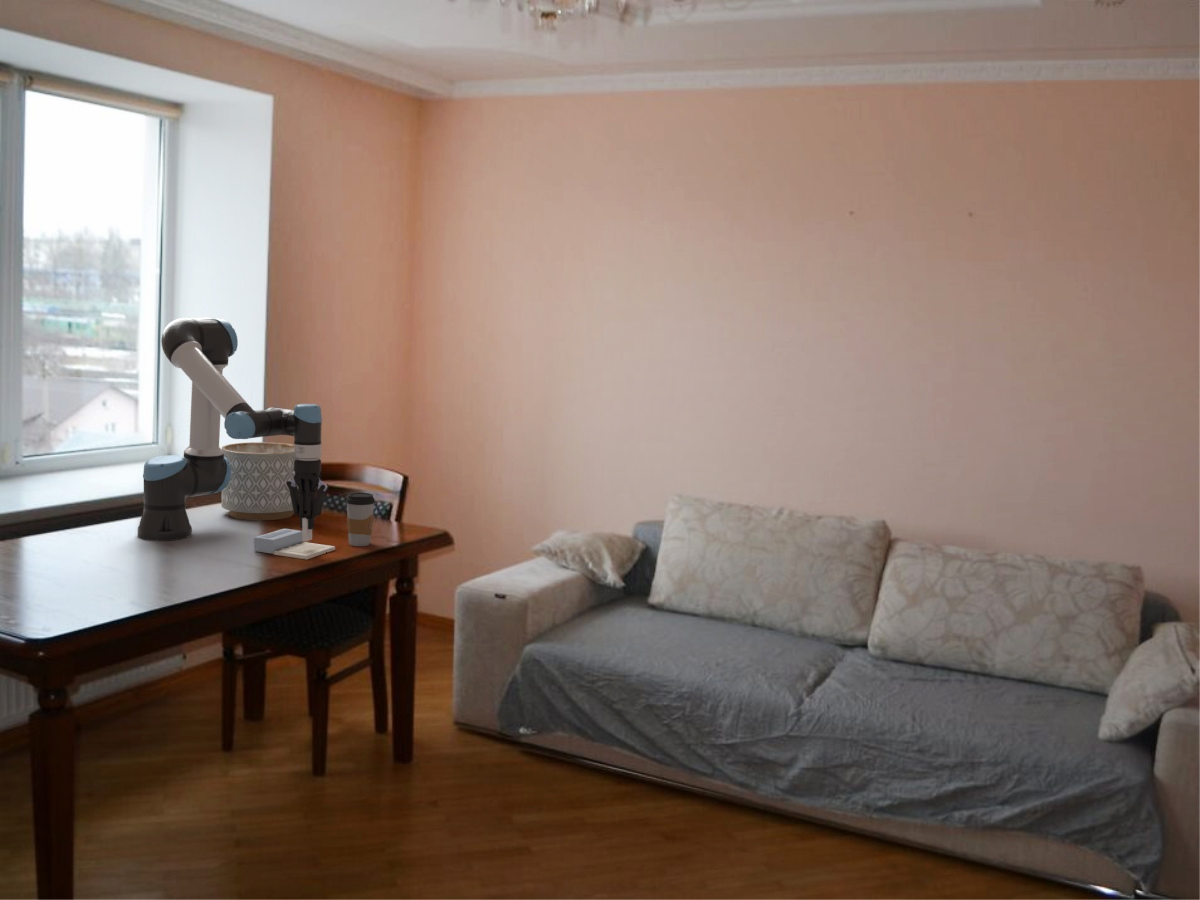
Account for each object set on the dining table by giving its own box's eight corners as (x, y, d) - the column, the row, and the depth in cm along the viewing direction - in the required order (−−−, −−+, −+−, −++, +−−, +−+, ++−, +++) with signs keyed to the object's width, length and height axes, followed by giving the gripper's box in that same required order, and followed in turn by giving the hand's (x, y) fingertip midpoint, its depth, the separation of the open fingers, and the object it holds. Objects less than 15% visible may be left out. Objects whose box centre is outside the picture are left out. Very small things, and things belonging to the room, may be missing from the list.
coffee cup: (367, 548, 336) (368, 498, 334) (340, 545, 338) (341, 496, 336) (378, 542, 344) (379, 493, 342) (352, 540, 346) (353, 491, 344)
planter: (317, 513, 383) (318, 447, 380) (266, 525, 360) (267, 456, 357) (257, 503, 393) (258, 440, 390) (204, 515, 370) (204, 447, 367)
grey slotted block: (254, 550, 325) (254, 536, 325) (284, 541, 338) (284, 528, 338) (273, 553, 323) (273, 539, 323) (302, 544, 336) (302, 530, 336)
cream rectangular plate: (273, 554, 323) (273, 550, 323) (303, 545, 336) (303, 541, 336) (306, 559, 319) (306, 555, 319) (335, 549, 332) (335, 546, 332)
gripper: (280, 458, 322) (280, 539, 326) (319, 462, 318) (319, 544, 321) (296, 455, 329) (295, 535, 333) (334, 459, 325) (334, 540, 328)
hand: (307, 539), depth 327 cm, fingers closed
